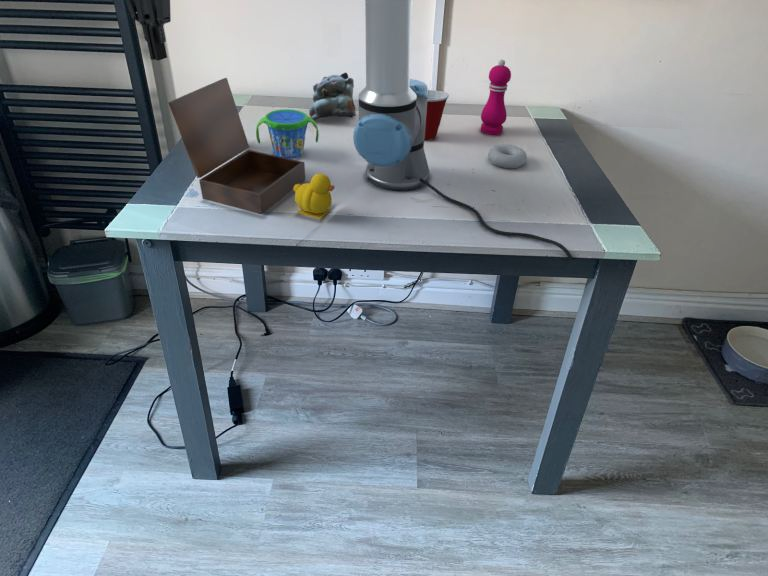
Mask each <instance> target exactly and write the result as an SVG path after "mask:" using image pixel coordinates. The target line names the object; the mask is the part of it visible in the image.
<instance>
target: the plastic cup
mask: <svg viewBox="0 0 768 576" xmlns="http://www.w3.org/2000/svg"><path fill="white" fill-rule="evenodd" d="M449 96H450V94H448V93H447V92H445V91H441V90H435V89H434V90H433V89H428V99H427V111H426V124H425V136H424V141H433V140H435V139H436V137H437V136H438V132H439V127H440V125H441V121H442V118H443V113H444V111H445V110H444V109H445V107H446V103H447V100H448V99H449V98H450V97H449Z"/></svg>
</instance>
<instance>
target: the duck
mask: <svg viewBox="0 0 768 576" xmlns="http://www.w3.org/2000/svg"><path fill="white" fill-rule="evenodd" d="M335 187H336V186H335V185H333V184H332V183H331V180H330V177H329V176H327V175H326V174H324V173H316V174H314V175H313V176H312V178H311V179H310V182H305V183H301V184H296V185H295V186H294V188H293V190H292V191H293V192H294V193H295V194H294V201H295V203H296V205H297V207H298V208H299V210H298V211H297V214H300V215H303V216H307V217H311V218H315V219H320V222H322V221H323V220H324V219H325V218H326V217H327V216H328V215H329V214H330V213H331V208H330V207H331V205H332V202H333V201H332V200H333V199H332V194H331V192H333V191H334V190H335Z"/></svg>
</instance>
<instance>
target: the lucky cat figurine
mask: <svg viewBox="0 0 768 576" xmlns="http://www.w3.org/2000/svg"><path fill="white" fill-rule="evenodd" d="M354 87H355V84H354V78H352V77H349V74H348V73H347V72H343V73H341V74H340V75H339V74H331V75H328V76H323V78H322V79H321V81H320V82H319V83H315V84H314V85H312V89H313V93H312V101H313V103H312V104H311V106H310V107H309V110H308V114H309V117H310V118H312V119H313V120H314V121H315V120H321V119H325V118H326V119H327V118H342V117H345V118H353V117H356V116H357V113H356V105H355V103H354V96H353V95H354Z"/></svg>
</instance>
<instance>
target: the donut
mask: <svg viewBox="0 0 768 576" xmlns="http://www.w3.org/2000/svg"><path fill="white" fill-rule="evenodd" d="M527 155H528V154H527V153H526V151H525V150H524V149H523V148H521V147H519V146H517V145H513V144H504V143H503V144H497V145H494V146H492V147H491V148H490V149H489V151H487V158H488V160H489V162H490V163H491V164H492V165H494V166H496V167H499V168H503V169H517V168H520V167H522V166H523V165H525V164H526V162H527V159H528V156H527Z"/></svg>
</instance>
